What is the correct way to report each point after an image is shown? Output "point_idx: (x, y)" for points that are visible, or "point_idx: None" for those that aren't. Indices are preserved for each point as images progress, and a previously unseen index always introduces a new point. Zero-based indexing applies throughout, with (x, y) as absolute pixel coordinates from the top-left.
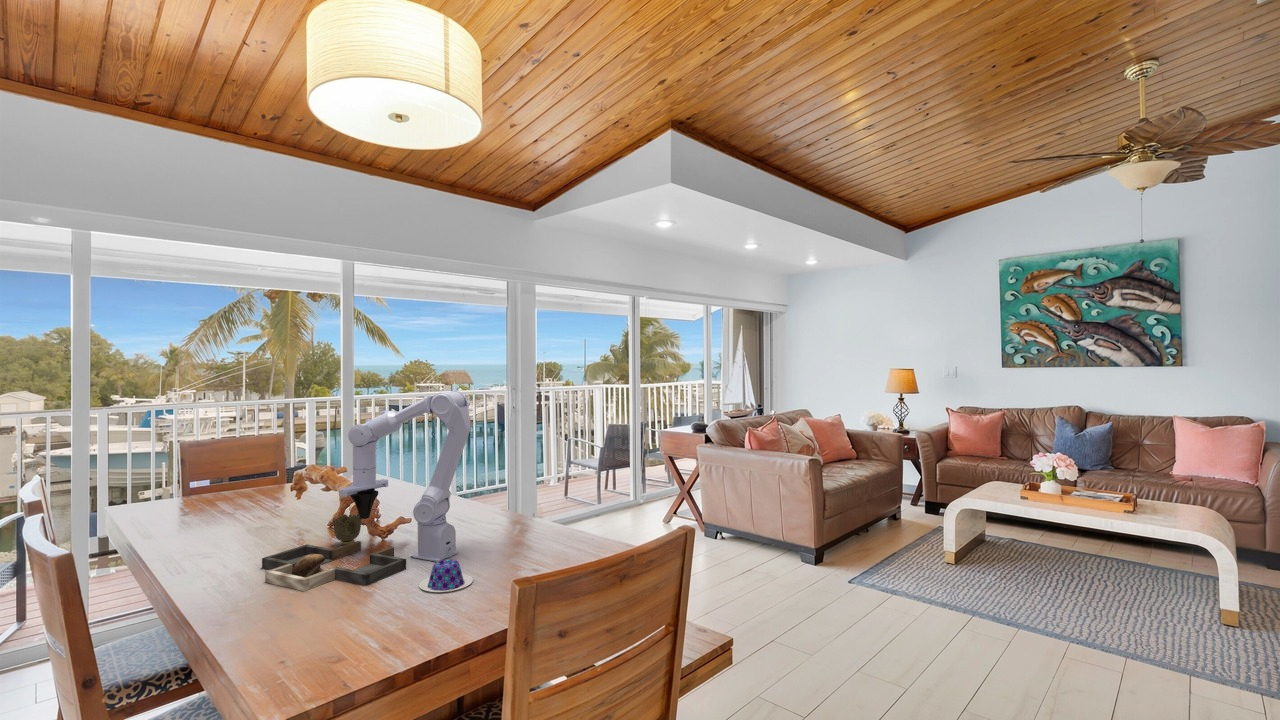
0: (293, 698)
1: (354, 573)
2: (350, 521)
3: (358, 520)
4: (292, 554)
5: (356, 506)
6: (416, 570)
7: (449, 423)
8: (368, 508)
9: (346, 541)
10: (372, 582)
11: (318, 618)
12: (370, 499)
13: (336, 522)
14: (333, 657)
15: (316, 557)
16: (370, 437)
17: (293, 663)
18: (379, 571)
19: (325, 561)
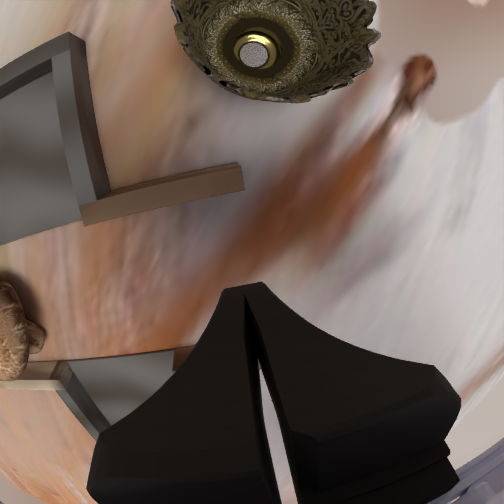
0: (29, 492)
1: (90, 433)
2: (246, 94)
3: (353, 30)
4: (11, 85)
5: (194, 347)
6: None
7: None
8: (272, 395)
9: (237, 68)
10: None
11: (35, 450)
12: (292, 478)
13: (175, 26)
14: (51, 490)
15: (2, 380)
16: None
17: (22, 476)
18: None
19: (74, 212)
